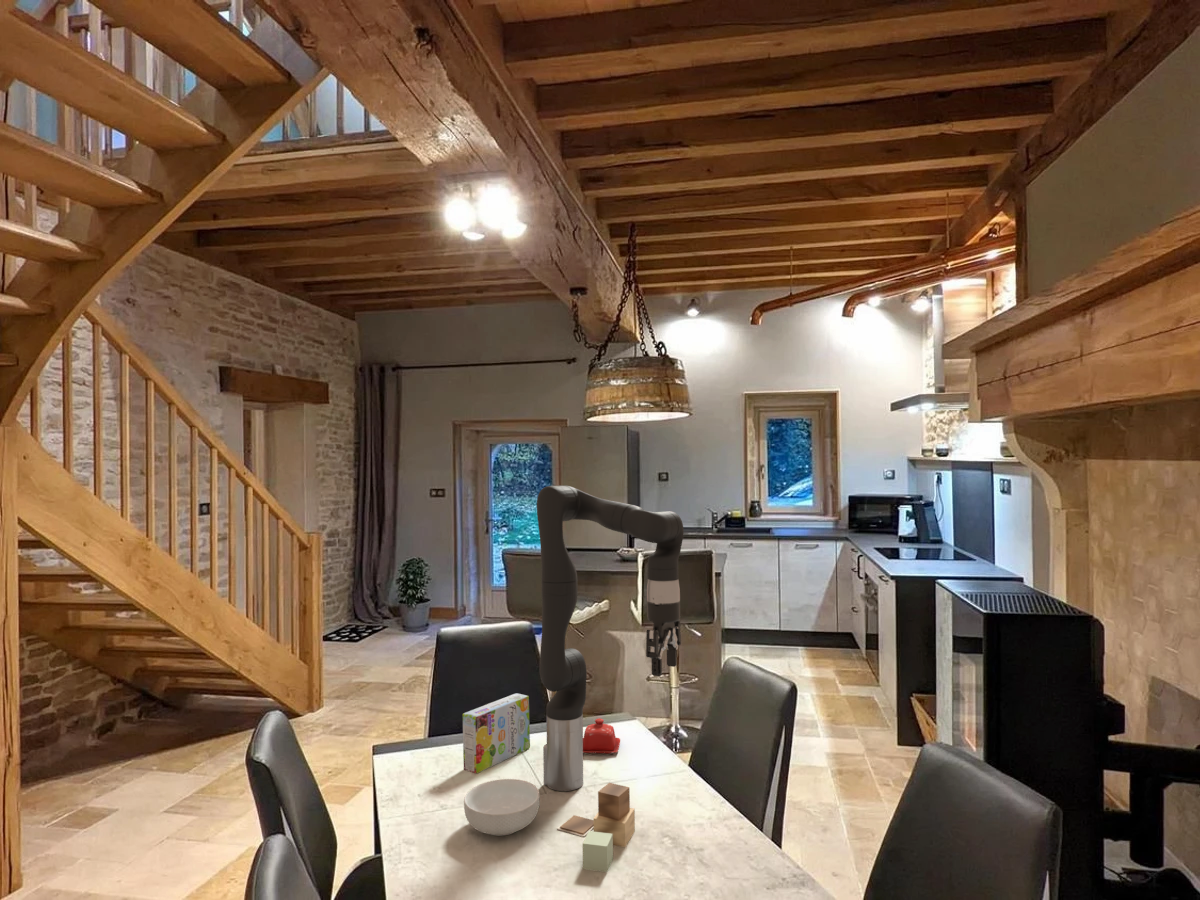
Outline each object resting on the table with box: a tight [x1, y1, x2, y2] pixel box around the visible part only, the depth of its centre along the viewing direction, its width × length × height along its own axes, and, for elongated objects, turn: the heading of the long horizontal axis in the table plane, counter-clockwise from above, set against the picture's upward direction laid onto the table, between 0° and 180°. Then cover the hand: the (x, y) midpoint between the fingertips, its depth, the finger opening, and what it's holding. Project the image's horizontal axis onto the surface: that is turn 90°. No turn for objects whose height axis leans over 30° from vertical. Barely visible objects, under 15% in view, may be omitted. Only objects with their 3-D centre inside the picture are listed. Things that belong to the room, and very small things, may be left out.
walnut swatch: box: [556, 814, 594, 838], centre depth 154 cm, size 7×7×1 cm
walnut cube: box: [597, 782, 631, 821], centre depth 150 cm, size 5×5×5 cm
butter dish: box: [583, 718, 621, 755], centre depth 198 cm, size 12×12×8 cm
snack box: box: [462, 692, 531, 774], centre depth 192 cm, size 21×6×15 cm, turn 144°
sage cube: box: [582, 830, 614, 873], centre depth 139 cm, size 5×5×5 cm
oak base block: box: [593, 807, 636, 848], centre depth 149 cm, size 7×7×5 cm
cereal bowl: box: [463, 778, 540, 837], centre depth 154 cm, size 17×17×7 cm
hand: (664, 670), depth 158 cm, fingers open, 8 cm apart
